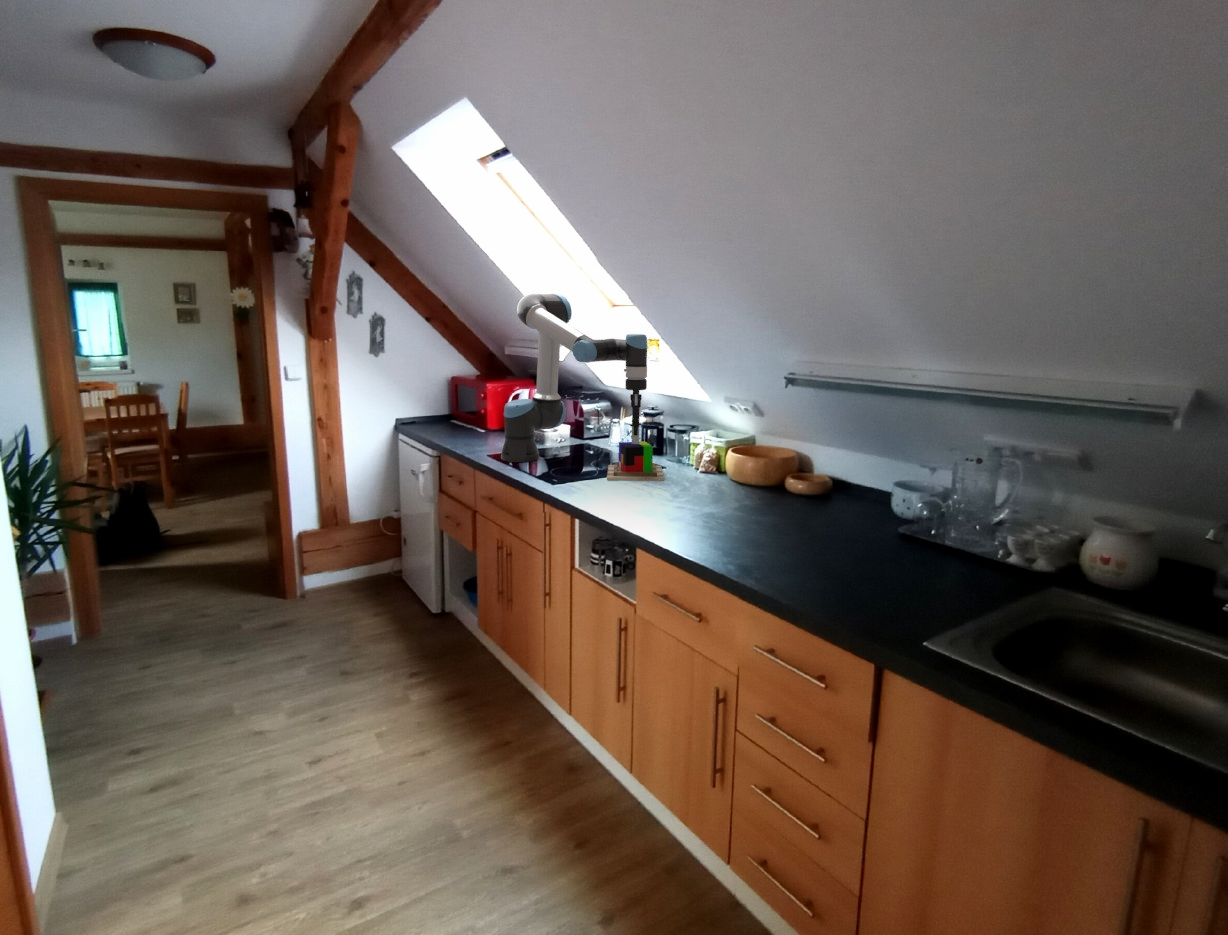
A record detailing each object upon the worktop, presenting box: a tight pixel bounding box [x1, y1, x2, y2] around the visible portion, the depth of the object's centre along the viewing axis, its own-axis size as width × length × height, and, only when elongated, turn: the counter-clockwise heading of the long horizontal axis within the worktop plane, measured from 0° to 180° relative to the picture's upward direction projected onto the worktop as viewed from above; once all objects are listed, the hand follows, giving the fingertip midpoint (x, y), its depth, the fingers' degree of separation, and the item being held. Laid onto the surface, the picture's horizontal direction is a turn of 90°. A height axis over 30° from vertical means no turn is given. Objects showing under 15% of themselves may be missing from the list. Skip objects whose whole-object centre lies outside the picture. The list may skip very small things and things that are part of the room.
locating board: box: [606, 462, 665, 482], centre depth 255 cm, size 20×20×2 cm
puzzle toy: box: [618, 441, 654, 472], centre depth 254 cm, size 10×10×10 cm
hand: (635, 443), depth 253 cm, fingers closed
